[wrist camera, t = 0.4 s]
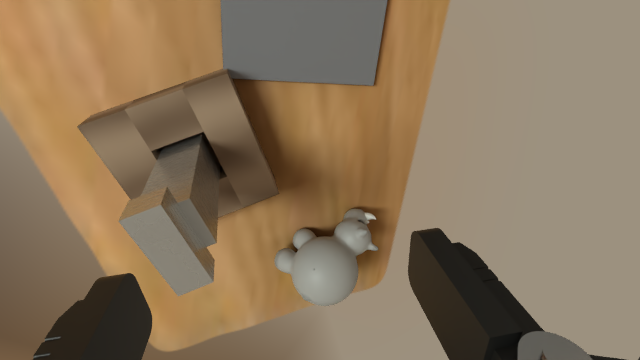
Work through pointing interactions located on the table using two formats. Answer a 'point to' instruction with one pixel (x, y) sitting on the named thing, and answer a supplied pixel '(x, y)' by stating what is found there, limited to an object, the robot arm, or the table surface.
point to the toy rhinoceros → (327, 259)
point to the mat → (302, 40)
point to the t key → (179, 213)
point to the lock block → (179, 123)
